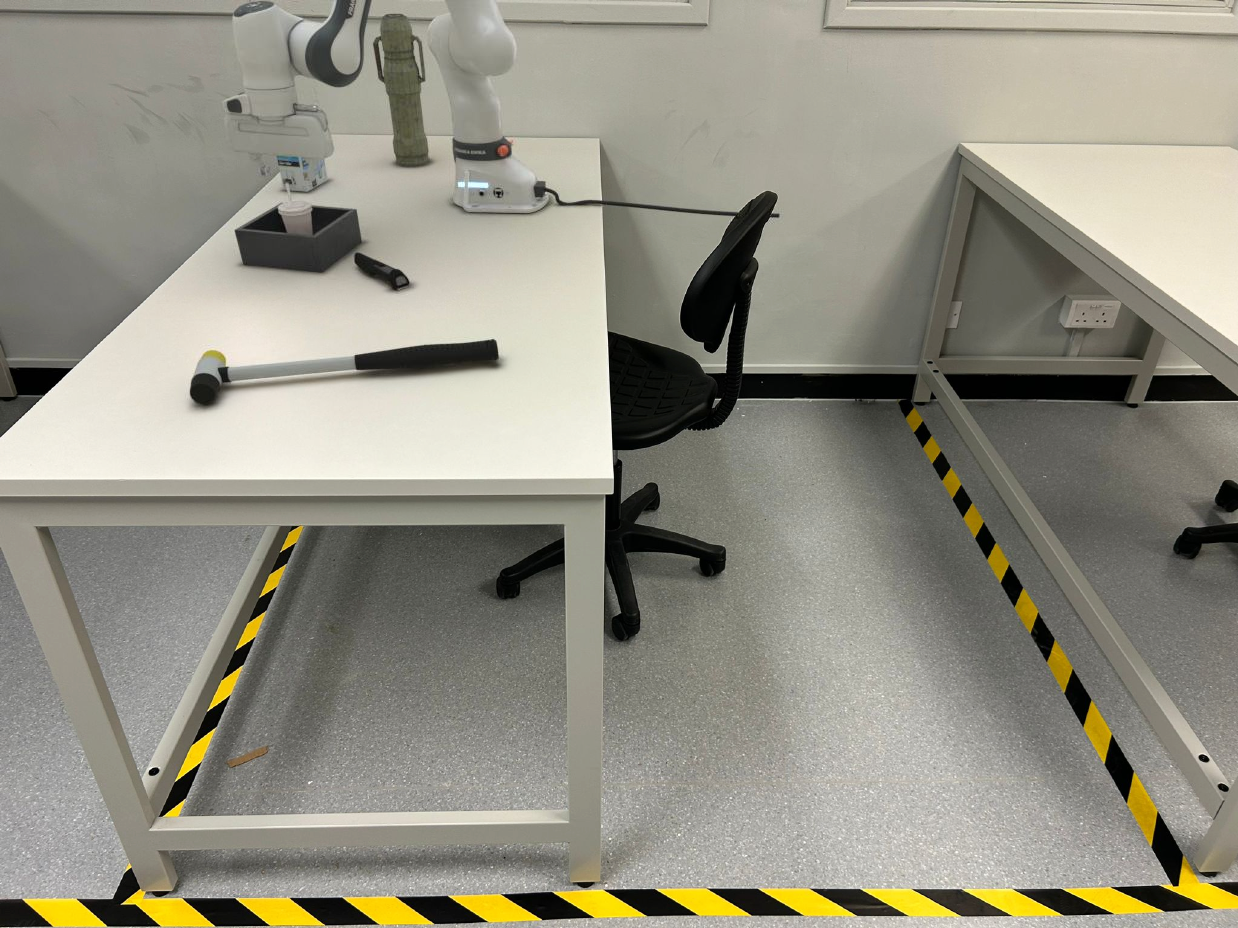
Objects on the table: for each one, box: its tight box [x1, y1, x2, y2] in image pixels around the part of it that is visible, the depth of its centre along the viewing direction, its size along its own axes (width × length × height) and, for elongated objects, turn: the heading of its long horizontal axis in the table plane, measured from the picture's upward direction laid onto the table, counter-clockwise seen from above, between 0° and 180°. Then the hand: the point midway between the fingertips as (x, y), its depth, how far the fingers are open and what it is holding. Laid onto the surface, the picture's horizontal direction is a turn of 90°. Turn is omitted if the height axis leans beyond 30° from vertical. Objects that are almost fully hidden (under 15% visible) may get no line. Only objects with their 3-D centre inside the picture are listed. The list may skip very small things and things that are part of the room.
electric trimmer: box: [353, 251, 411, 291], centre depth 163 cm, size 4×16×3 cm, turn 45°
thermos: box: [372, 13, 430, 168], centre depth 218 cm, size 9×12×35 cm
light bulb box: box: [275, 155, 329, 193], centre depth 208 cm, size 11×7×11 cm, turn 168°
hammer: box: [189, 338, 500, 405], centre depth 132 cm, size 45×11×4 cm, turn 103°
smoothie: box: [278, 183, 313, 235], centre depth 170 cm, size 6×6×14 cm
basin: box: [234, 202, 363, 274], centre depth 172 cm, size 17×17×7 cm
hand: (287, 178), depth 165 cm, fingers open, 8 cm apart
